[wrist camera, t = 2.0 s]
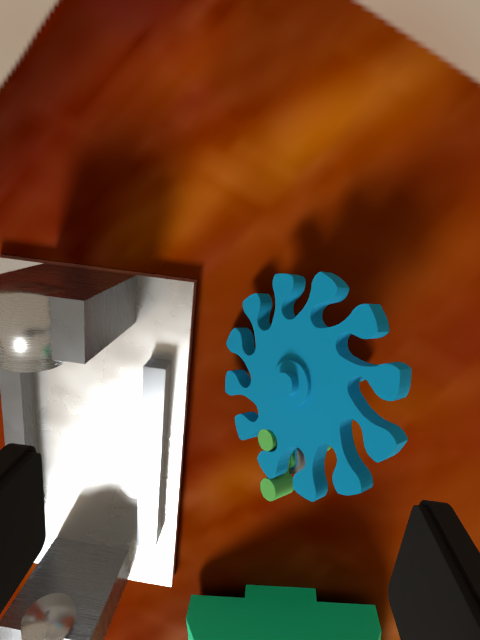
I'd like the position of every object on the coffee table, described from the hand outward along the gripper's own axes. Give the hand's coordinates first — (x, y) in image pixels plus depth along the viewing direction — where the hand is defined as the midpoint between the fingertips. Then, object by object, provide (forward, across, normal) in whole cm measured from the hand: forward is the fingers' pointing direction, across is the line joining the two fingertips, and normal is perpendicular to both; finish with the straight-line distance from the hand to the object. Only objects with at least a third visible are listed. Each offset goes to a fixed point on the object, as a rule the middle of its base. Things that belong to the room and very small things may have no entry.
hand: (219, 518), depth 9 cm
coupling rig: (+12, +8, +7) cm, 17 cm away
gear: (+13, -1, 0) cm, 13 cm away
